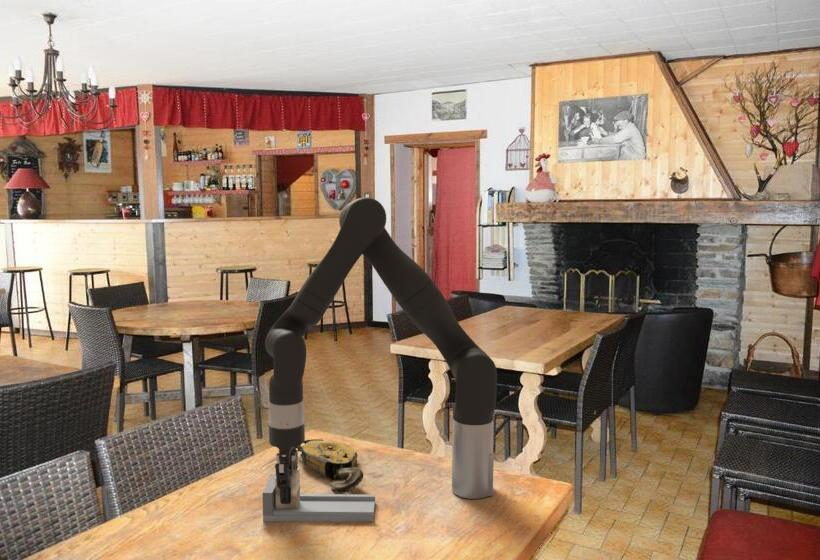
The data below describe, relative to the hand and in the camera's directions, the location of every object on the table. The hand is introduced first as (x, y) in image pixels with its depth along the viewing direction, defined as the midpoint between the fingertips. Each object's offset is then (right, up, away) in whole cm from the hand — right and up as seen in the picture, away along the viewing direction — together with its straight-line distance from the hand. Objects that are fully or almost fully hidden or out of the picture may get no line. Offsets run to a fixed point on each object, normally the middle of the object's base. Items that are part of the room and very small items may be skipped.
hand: (288, 497), depth 146 cm
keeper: (0, -2, 0) cm, 2 cm away
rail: (+7, -3, 0) cm, 8 cm away
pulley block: (+7, -1, +21) cm, 23 cm away
